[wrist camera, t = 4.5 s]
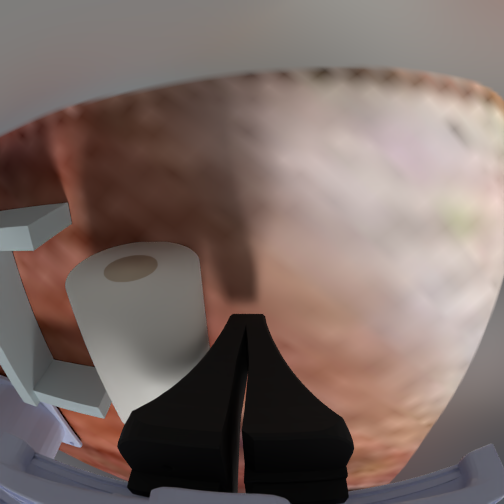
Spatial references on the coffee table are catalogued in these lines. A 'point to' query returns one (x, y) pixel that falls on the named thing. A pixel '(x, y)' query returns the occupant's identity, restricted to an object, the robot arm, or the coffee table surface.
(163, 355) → the roll
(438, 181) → the coffee table surface
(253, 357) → the robot arm
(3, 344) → the holder
